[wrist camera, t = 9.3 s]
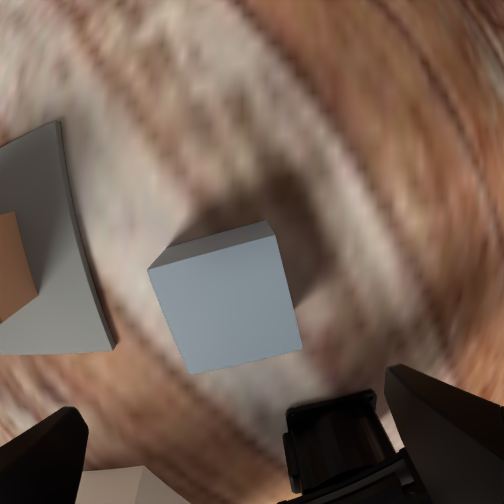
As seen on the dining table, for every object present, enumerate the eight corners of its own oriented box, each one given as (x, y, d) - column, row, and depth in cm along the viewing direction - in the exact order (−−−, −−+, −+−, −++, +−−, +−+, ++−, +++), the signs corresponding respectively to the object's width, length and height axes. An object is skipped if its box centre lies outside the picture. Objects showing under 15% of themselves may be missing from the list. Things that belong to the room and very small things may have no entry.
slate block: (266, 219, 16) (275, 234, 12) (289, 311, 18) (302, 348, 14) (167, 247, 16) (146, 270, 13) (198, 334, 18) (189, 374, 14)
